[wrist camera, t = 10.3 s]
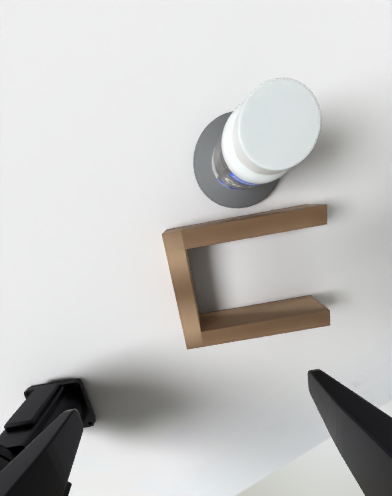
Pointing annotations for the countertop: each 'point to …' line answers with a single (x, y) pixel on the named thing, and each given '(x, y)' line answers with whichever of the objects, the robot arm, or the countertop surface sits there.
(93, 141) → the countertop surface
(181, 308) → the nook
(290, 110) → the pill bottle
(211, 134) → the coaster
